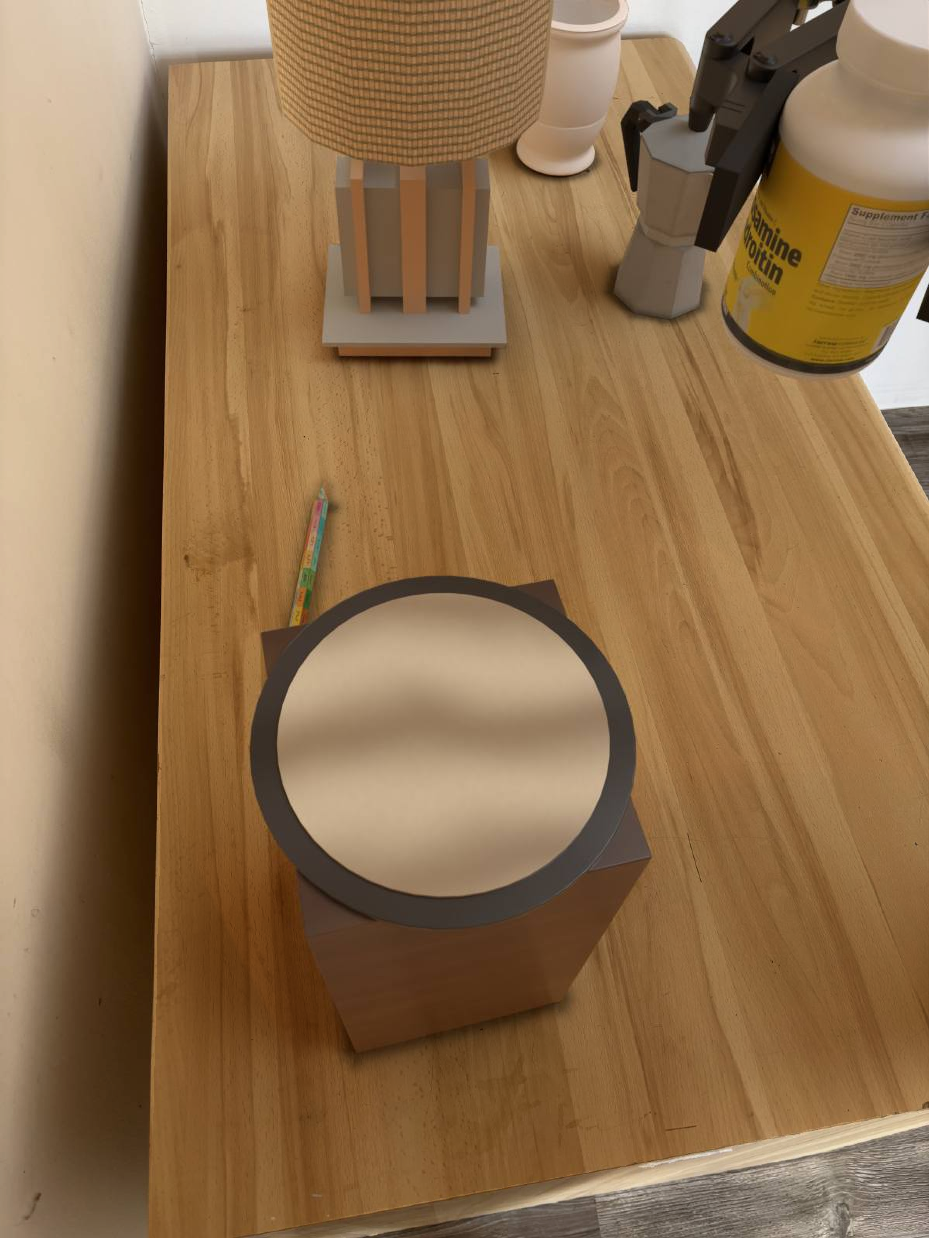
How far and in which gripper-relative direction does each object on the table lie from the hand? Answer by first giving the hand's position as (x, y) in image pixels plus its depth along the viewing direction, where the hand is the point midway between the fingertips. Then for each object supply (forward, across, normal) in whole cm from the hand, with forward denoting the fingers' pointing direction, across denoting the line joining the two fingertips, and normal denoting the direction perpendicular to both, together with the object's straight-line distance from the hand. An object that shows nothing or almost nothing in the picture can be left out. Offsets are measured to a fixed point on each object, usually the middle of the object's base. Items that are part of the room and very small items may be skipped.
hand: (829, 246), depth 28 cm
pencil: (-4, +26, -40) cm, 48 cm away
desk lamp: (-34, +33, -40) cm, 62 cm away
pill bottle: (-5, 0, -7) cm, 9 cm away
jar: (-63, +32, -40) cm, 82 cm away
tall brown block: (+14, +6, -40) cm, 43 cm away
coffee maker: (-49, +16, -40) cm, 65 cm away
